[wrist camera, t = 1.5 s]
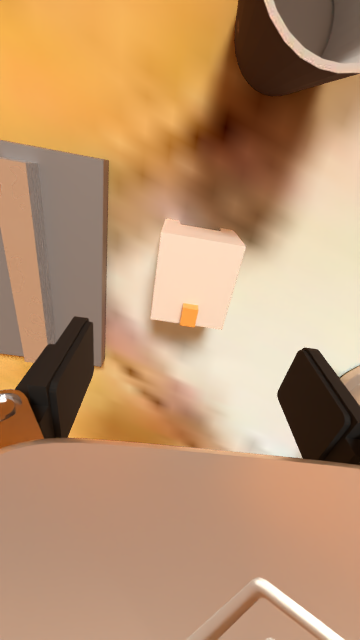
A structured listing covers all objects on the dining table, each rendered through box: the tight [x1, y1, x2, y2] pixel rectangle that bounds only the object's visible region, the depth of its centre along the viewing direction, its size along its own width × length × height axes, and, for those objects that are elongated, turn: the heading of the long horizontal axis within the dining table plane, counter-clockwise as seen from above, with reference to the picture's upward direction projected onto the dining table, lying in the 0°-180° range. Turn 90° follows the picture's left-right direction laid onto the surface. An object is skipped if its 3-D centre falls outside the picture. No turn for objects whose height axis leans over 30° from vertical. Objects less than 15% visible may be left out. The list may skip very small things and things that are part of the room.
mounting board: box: [0, 140, 109, 367], centre depth 24 cm, size 12×20×2 cm, turn 171°
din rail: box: [0, 157, 56, 363], centre depth 23 cm, size 2×18×2 cm, turn 171°
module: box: [150, 218, 246, 330], centre depth 22 cm, size 6×7×6 cm
